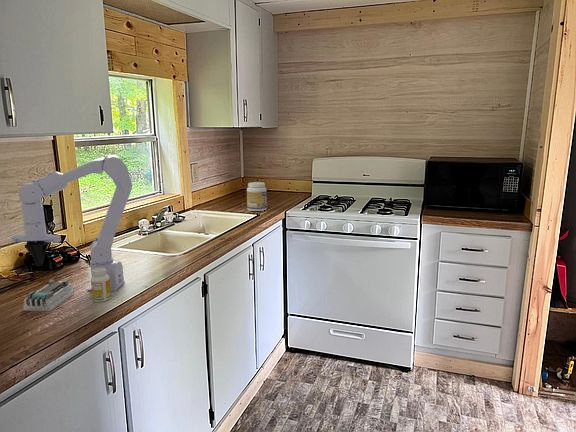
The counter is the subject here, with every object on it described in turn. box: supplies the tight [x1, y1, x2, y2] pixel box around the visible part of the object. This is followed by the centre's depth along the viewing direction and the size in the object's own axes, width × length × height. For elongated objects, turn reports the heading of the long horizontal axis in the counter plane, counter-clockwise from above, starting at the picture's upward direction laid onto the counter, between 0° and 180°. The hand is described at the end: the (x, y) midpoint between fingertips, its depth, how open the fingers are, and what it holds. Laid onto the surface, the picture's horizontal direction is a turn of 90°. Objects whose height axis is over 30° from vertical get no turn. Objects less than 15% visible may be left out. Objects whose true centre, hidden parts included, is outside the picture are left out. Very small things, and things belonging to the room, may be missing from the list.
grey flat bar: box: [32, 281, 63, 298], centre depth 134 cm, size 11×4×1 cm, turn 177°
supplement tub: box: [246, 181, 268, 212], centre depth 266 cm, size 12×12×17 cm
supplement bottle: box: [90, 267, 112, 303], centre depth 135 cm, size 5×5×10 cm
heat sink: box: [22, 279, 75, 312], centre depth 133 cm, size 13×8×5 cm, turn 177°
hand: (39, 264), depth 137 cm, fingers closed
